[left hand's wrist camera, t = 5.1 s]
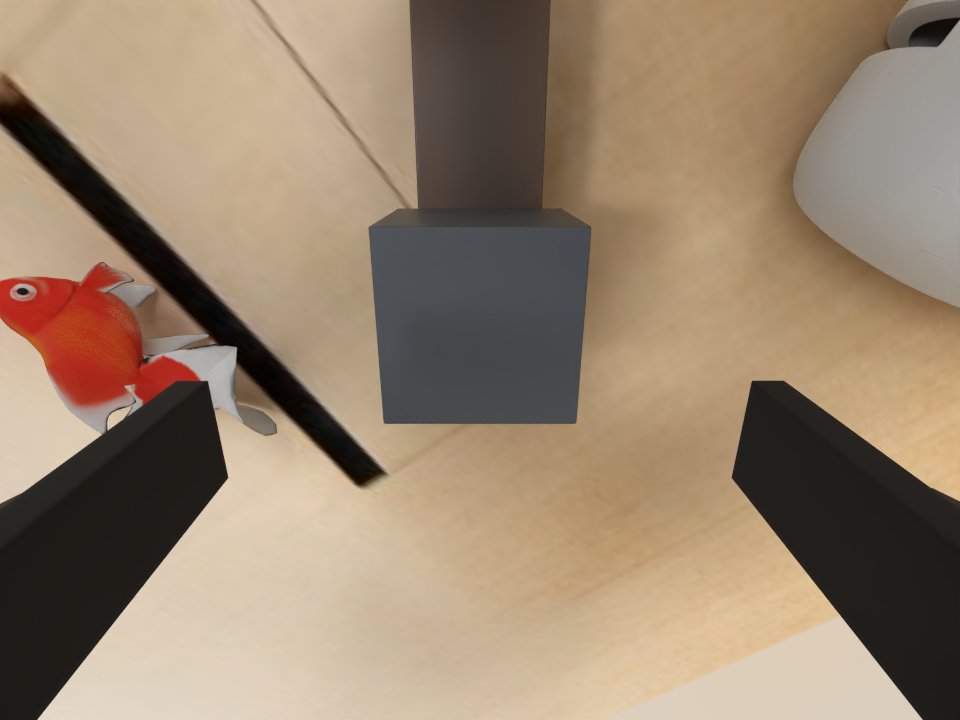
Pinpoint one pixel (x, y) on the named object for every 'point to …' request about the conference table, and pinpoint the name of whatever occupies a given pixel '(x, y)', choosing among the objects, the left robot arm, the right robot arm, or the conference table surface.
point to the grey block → (480, 314)
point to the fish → (113, 347)
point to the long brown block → (480, 102)
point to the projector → (895, 155)
